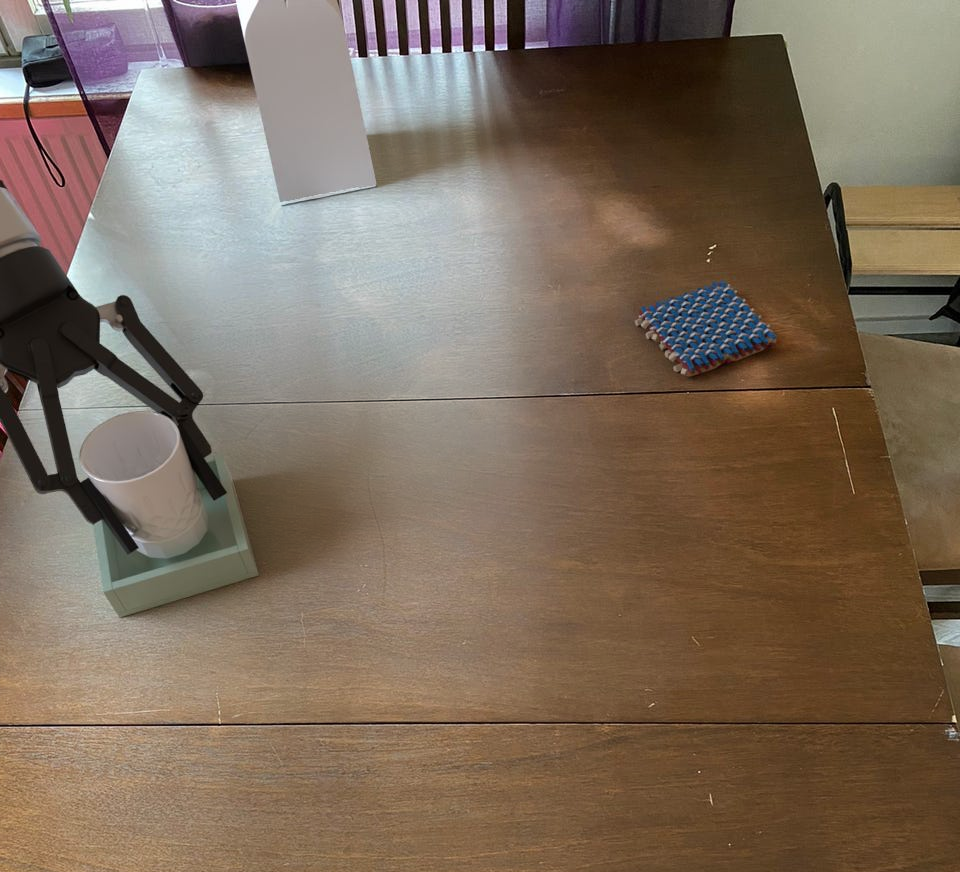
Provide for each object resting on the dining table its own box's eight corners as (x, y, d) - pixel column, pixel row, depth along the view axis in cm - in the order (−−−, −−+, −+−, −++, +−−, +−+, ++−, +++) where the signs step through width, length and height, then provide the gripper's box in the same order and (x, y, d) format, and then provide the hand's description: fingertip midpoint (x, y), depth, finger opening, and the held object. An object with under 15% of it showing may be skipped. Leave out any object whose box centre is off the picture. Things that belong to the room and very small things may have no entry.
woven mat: (721, 290, 103) (724, 273, 101) (779, 351, 97) (783, 333, 95) (631, 321, 101) (632, 305, 99) (684, 385, 95) (686, 368, 94)
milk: (377, 187, 118) (335, -66, 97) (280, 206, 117) (217, -45, 96) (360, 135, 125) (318, -112, 103) (269, 152, 124) (208, -92, 102)
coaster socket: (119, 618, 84) (102, 592, 81) (102, 517, 91) (87, 490, 88) (259, 575, 86) (248, 548, 83) (233, 479, 92) (222, 451, 89)
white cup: (129, 501, 89) (85, 417, 80) (217, 490, 89) (182, 404, 80) (120, 570, 84) (73, 488, 76) (213, 558, 84) (176, 475, 76)
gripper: (115, 227, 83) (270, 465, 89) (-121, 344, 76) (64, 594, 82) (123, 192, 76) (291, 453, 82) (-135, 317, 69) (68, 592, 75)
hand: (177, 523), depth 82 cm, fingers closed on white cup, 8 cm apart
